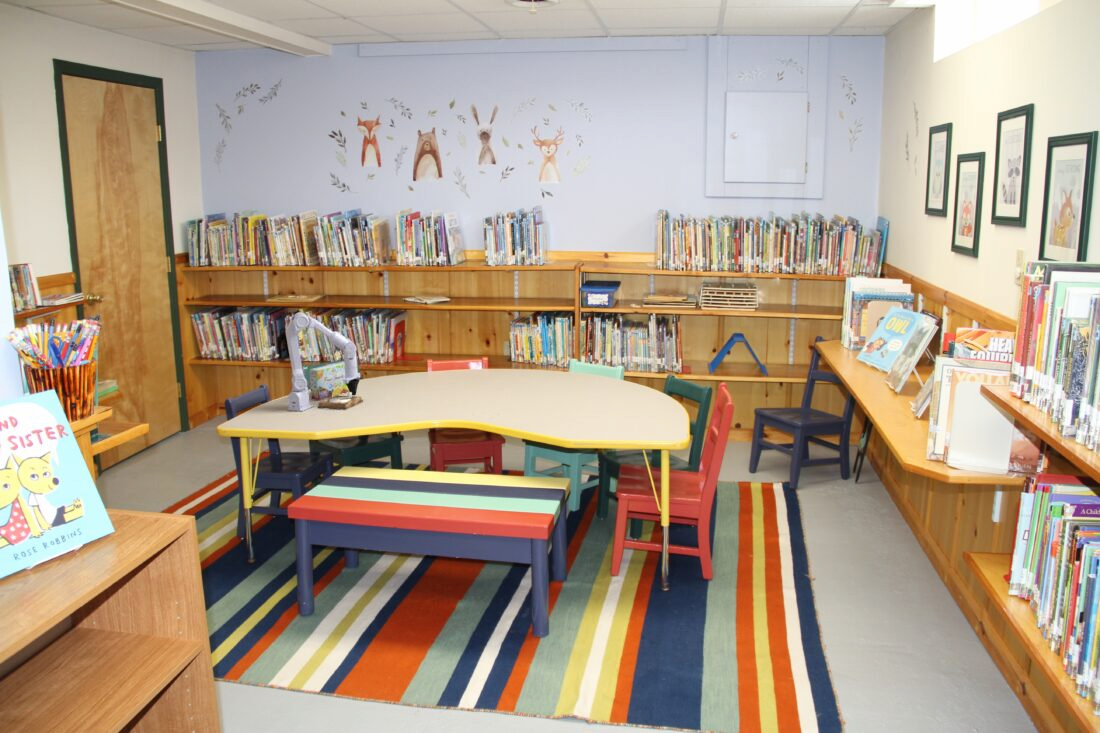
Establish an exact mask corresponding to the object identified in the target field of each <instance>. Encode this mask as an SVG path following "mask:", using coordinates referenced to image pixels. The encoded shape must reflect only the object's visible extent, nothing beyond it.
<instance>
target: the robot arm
mask: <svg viewBox="0 0 1100 733" xmlns="http://www.w3.org/2000/svg"><path fill="white" fill-rule="evenodd" d="M305 328H308V329H315V330H317V331H318V332H320V333H321V334H322V335H324V336H326V337H327V338H328V342H330V343H331V344H332V345H334V346H335V347H337V348H338V349H340V350H342V351H343V356H344V357H343V362H344V364H345V378H344V379H343V382H344V383H345V384H346V385H347V387H348V389H349V392H352V396H357V389H358V386H359V382H360V379H359V378H361V373H360V372H358V361H357V350H358V348H357V346H356V344H355V343H354V342H353V341H352V340H350V338H349V337H348V338H347V337H346V336H344V335H343V334H342V332H340V331H337V330H335V331H332V330H330V329H329V328H328V327H326V326H325V325H324V324H322V323H321V322H320V321H318V320H317V319H315V318H314V317H312V316H310V315H306V313H304V312H301V311H300V312H297V313H295V314H294V315H293V316H292V317H291V318H290V320H289V323H288V325H287V328H286V329H285V336H286V337H285V338H286V342H287V348H288V353H289V359H290V366H291V371H292V374H291V375H292V377H291V383H292V387H291V392H290V393H289V394H288V397H287V400H288V409H287V411H290V410H292V412H293V411H295V412H304V411H306V410H308V409H311V408H313V407H314V404H312V405H311V404H310V395H309V394H310V393H309V387H308V380H307V379H306V377H305V375H304V370H303V365H302V358H301V354H300V347H299V342H298V334H300V332H301V331H303V330H304V329H305Z"/></svg>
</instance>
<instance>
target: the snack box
mask: <svg viewBox="0 0 1100 733" xmlns="http://www.w3.org/2000/svg"><path fill="white" fill-rule="evenodd" d="M308 372H309V383H310V384H309V386H310V397H311V400H313V399H314V401H318V400H319V401H321V399H322V400H326V399H328V398H330V397H332V396H335V395H338V396H340V395H339V394H341V395H343V394H342V393H344V394H347V392H349V389H348V387H347V385H346V384H345V383H344V382H343V379H344V378H345V364H344V361H340V362H335V363H332V364H327V365H323V366H318V367H314V368H310V369H309V370H308ZM325 398H326V399H325Z"/></svg>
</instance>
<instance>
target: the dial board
mask: <svg viewBox="0 0 1100 733" xmlns="http://www.w3.org/2000/svg"><path fill="white" fill-rule="evenodd" d="M337 397H348V395H335V396H333V397H329V398H326V399H322V401H321V400H320V401H319V402H318V405H317V406H316V407H317V409H323V408H329V409H328V410H341V409H343V410H345V411H346V409H347V410H348V409H351V408H353V407H355V406H357V405H359V403H360V404H362V403H363V402H364V399H362V396H357V395H352V399H351V400H350V401H347V402H345V403H340V402H339V403H335V402H329V400H330V399H333V398H337ZM361 402H362V403H361ZM343 410H342V411H343Z"/></svg>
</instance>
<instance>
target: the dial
mask: <svg viewBox="0 0 1100 733" xmlns="http://www.w3.org/2000/svg"><path fill="white" fill-rule="evenodd" d="M346 394H347V395H346V396H348V397H337V398H333V399H330V400H329V402H335V403H339V402H340V403H345V402H347V401H350V400H351V399H352V396H353V395H352V392H348V393H346Z"/></svg>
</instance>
